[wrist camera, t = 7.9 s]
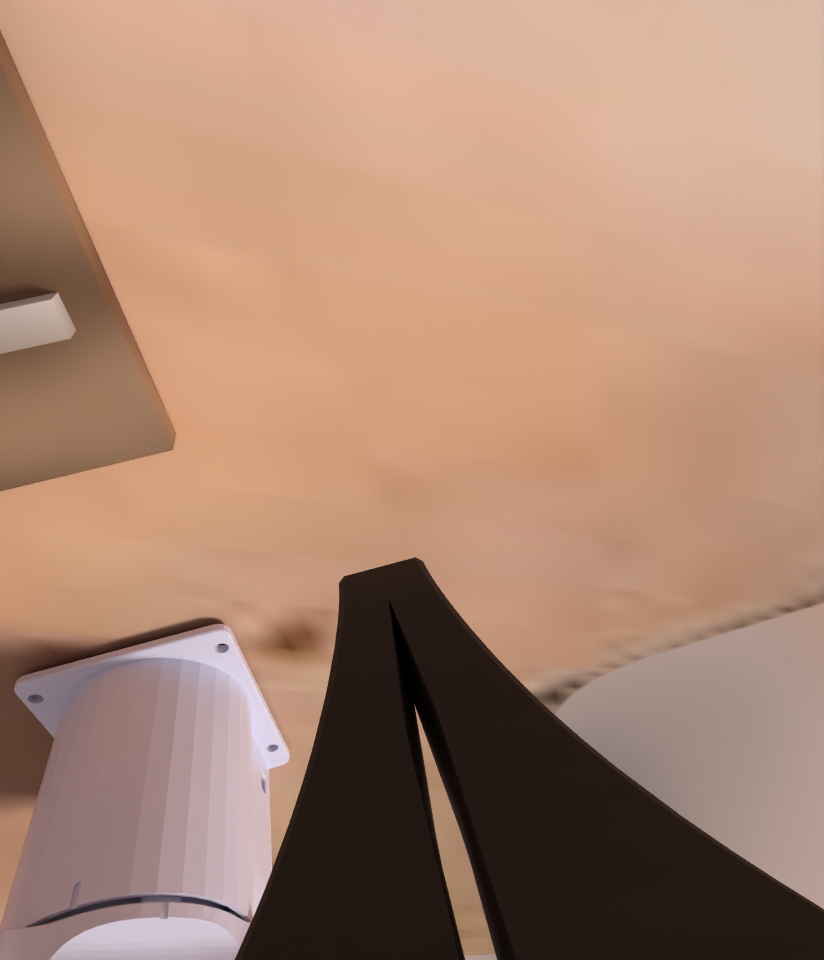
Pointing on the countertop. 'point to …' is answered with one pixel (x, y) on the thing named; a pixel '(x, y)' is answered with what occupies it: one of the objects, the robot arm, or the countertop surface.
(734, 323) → the countertop surface
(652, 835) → the robot arm
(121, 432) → the gauge board
